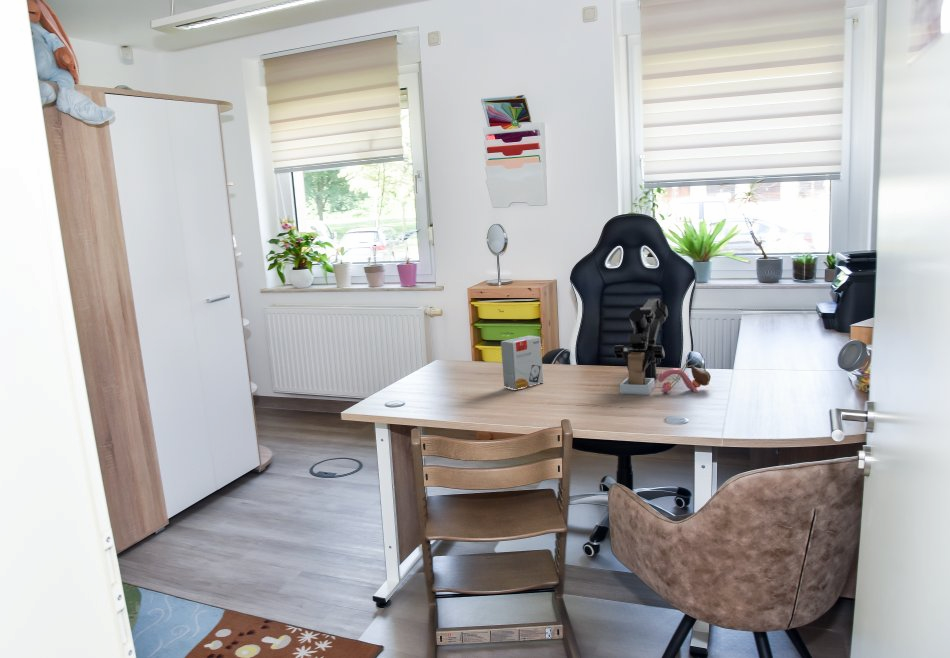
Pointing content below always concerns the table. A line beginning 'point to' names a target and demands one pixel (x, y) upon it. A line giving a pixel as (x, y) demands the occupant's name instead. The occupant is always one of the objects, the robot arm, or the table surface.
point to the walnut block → (636, 368)
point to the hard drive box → (522, 361)
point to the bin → (637, 387)
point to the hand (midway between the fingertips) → (635, 371)
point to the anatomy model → (686, 377)
